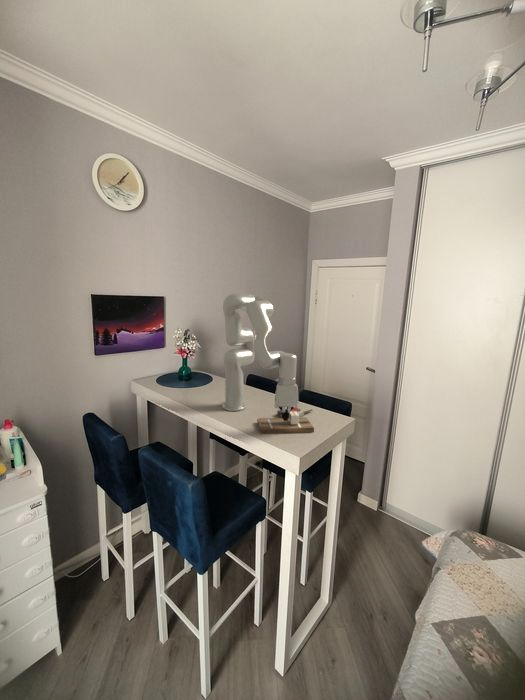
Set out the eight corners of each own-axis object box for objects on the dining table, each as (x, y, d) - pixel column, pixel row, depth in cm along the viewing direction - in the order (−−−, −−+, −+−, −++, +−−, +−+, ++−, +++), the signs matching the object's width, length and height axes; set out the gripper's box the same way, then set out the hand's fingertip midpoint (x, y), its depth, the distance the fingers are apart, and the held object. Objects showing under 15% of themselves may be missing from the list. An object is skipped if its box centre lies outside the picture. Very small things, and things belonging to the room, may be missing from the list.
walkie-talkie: (286, 422, 149) (313, 413, 162) (287, 413, 148) (314, 405, 161) (274, 416, 155) (301, 408, 168) (274, 408, 155) (301, 400, 167)
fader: (288, 420, 144) (289, 411, 144) (296, 419, 145) (296, 411, 144) (291, 424, 139) (291, 415, 139) (298, 424, 140) (299, 415, 139)
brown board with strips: (257, 422, 146) (257, 418, 146) (306, 421, 150) (306, 417, 149) (260, 433, 134) (260, 429, 134) (313, 432, 138) (314, 427, 137)
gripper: (272, 383, 133) (270, 423, 137) (305, 383, 136) (303, 422, 139) (269, 378, 141) (267, 416, 144) (301, 378, 143) (299, 416, 146)
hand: (285, 419), depth 141 cm, fingers closed
